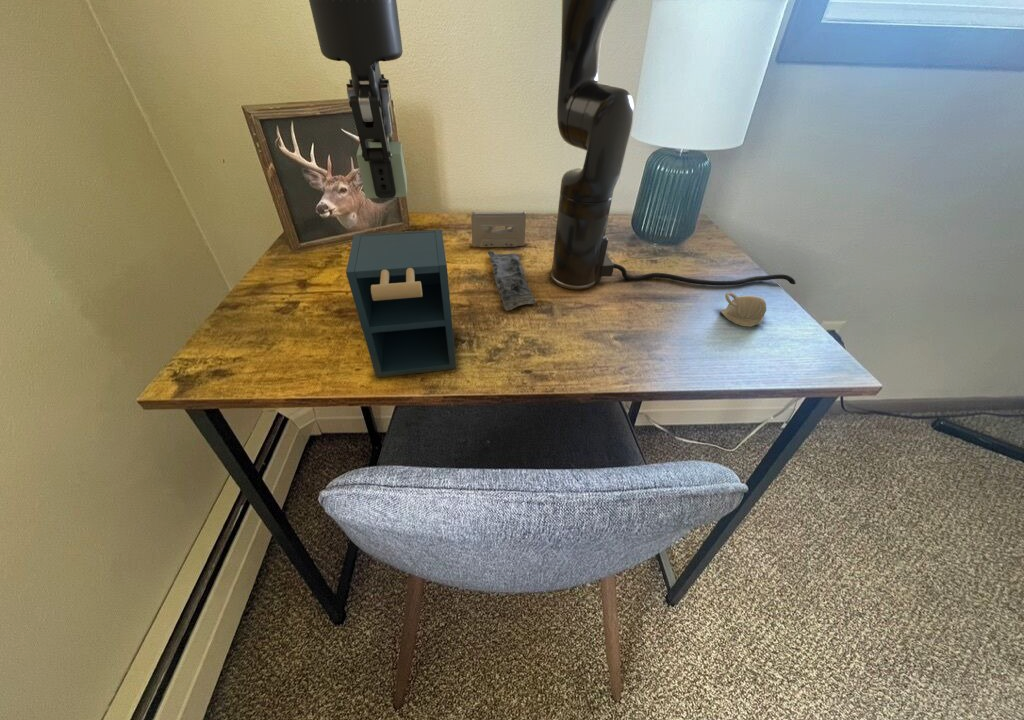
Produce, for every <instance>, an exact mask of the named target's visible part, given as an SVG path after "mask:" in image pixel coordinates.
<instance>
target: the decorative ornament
mask: <svg viewBox="0 0 1024 720" xmlns="http://www.w3.org/2000/svg"><path fill="white" fill-rule="evenodd" d="M724 297H725V300H726V302H727V303H728V304H727V306H726V308H725V309H722V310H720V313H721V314H722V315H723V316H724V317H725V318H726V319H727V320H728V321H730V322H732V323H734V324H735V325H738V326H741V327H747V328H748V327H749V328H751V327H754V326H756V325H757V326H758V325H759V324H760V323H762V322H763V321H764V317H765V314H766V312H767V302H766V300H765V299H764V298H763V297H761V296H759V295H758V296H757V295H742V296H737V295H736V294H735V293H734V292H730V291H728V292H725V295H724ZM730 297H731V298H733V299H732V300H731V298H730Z"/></svg>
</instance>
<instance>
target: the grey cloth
mask: <svg viewBox="0 0 1024 720" xmlns="http://www.w3.org/2000/svg"><path fill="white" fill-rule="evenodd" d="M487 255H488V256H489V260H490V263H491V266H492V269H493V273H492V274H493V277H494V280H495V284H496V288H497V291H498V293H499V296H500V298H501V302H502V306H503V308H504V310H505V311H508V312H509V311H512V310H513V309H516V308H518V307H520V306H523V305H533V304H535V303H537V302H536V299H535V296H534V295H533V293H532V290H531V288H530V285H529V284H528V280H527V278H526V277H525V273H524V269H523V265H522V263H521V258H520V256H519V255H518V254H516V253H506V254H503V253H496V252H494V251H493V250H488V251H487Z"/></svg>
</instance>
